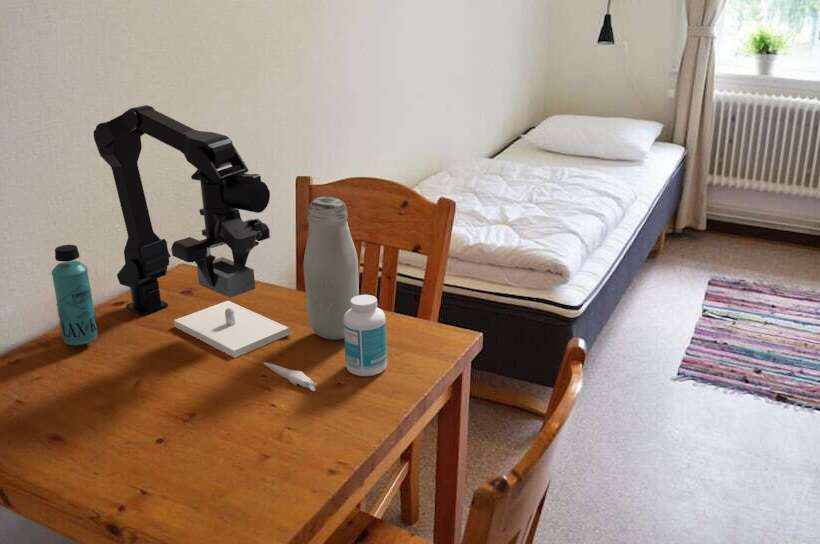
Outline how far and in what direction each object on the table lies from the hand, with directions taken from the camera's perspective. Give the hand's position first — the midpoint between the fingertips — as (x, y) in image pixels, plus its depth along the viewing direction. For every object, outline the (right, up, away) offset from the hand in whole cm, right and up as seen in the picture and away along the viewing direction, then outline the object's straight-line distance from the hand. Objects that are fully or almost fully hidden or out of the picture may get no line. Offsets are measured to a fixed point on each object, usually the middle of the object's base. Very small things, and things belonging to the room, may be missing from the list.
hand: (226, 281), depth 157 cm
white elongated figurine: (+14, -17, -13) cm, 26 cm away
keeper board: (0, -10, +4) cm, 11 cm away
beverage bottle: (-27, -12, -1) cm, 30 cm away
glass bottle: (+21, -11, +1) cm, 24 cm away
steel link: (0, -1, 0) cm, 1 cm away
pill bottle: (+28, -16, -11) cm, 34 cm away
